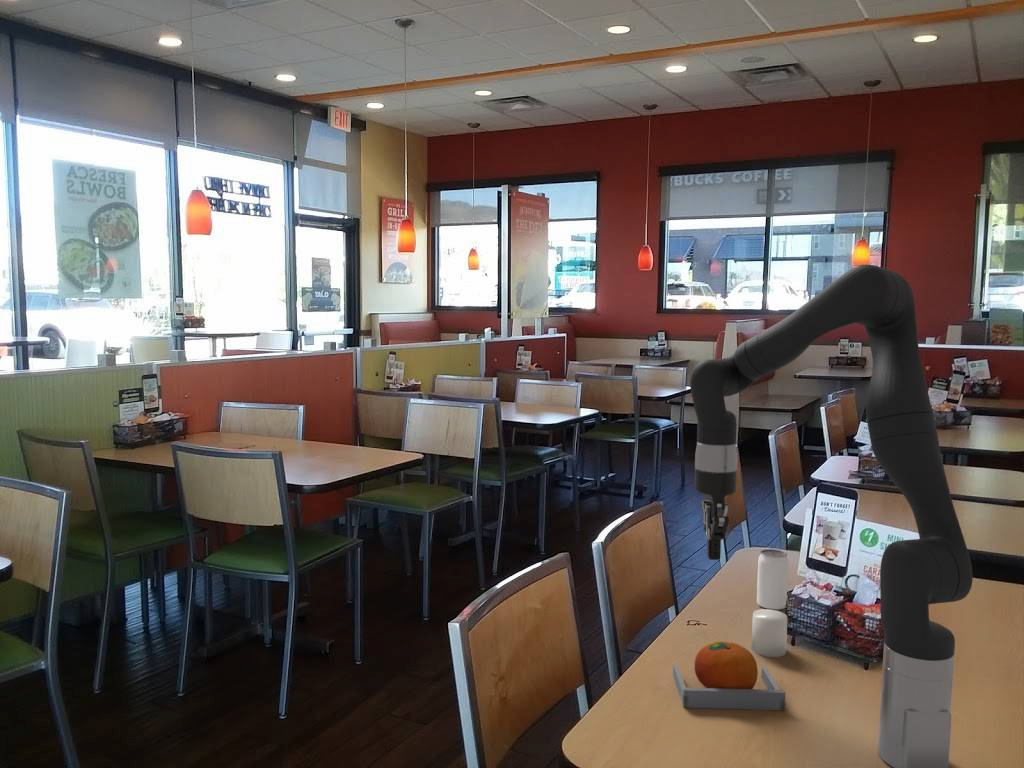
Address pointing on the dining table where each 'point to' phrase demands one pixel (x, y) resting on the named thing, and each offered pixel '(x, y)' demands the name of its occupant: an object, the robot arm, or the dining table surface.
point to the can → (772, 579)
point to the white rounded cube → (769, 633)
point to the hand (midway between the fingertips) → (713, 558)
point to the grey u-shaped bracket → (732, 695)
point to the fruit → (726, 666)
